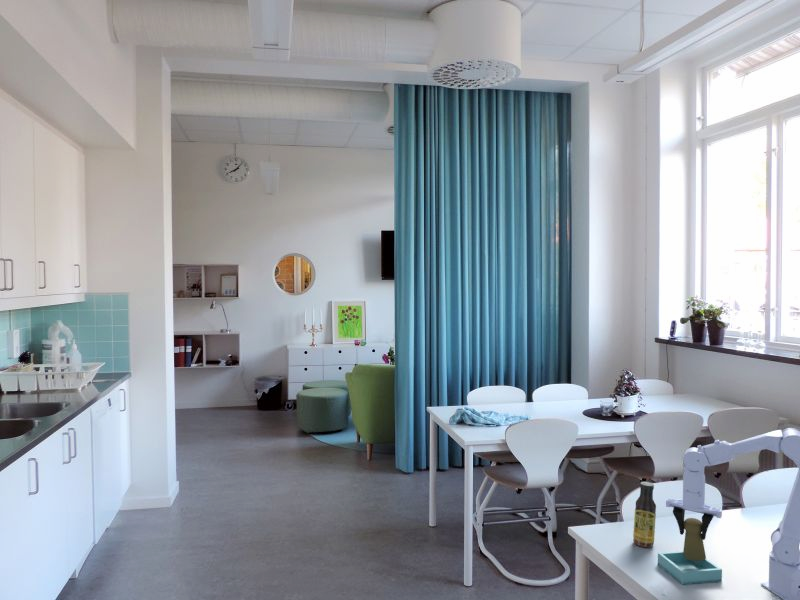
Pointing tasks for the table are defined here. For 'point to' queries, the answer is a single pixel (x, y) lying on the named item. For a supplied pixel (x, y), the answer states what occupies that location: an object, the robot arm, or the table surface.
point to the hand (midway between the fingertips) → (692, 536)
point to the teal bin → (689, 568)
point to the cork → (693, 540)
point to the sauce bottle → (645, 516)
